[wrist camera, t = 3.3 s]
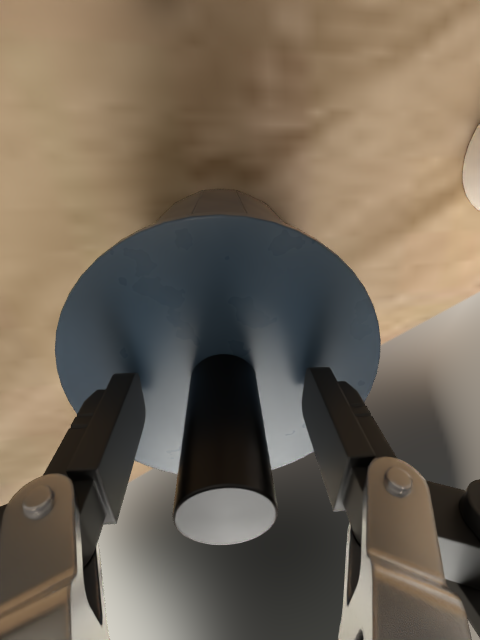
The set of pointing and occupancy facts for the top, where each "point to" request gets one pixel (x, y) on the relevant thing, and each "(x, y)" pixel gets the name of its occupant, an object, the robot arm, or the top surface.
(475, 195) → the character figurine
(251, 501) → the pot lid
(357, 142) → the top surface
